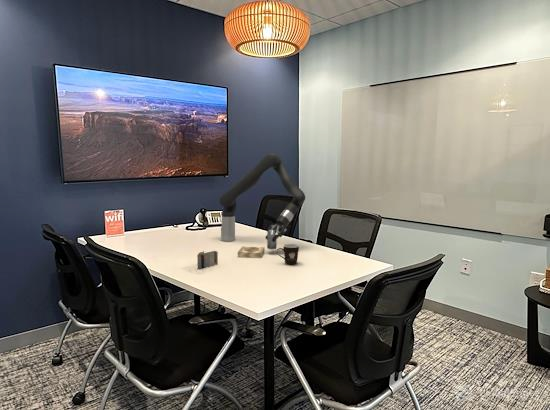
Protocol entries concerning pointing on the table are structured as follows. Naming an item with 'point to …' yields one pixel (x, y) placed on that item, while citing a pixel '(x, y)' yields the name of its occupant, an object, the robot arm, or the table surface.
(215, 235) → the table surface
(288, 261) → the coffee mug
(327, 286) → the table surface
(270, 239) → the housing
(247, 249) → the stand
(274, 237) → the robot arm
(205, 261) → the grey rusty box
